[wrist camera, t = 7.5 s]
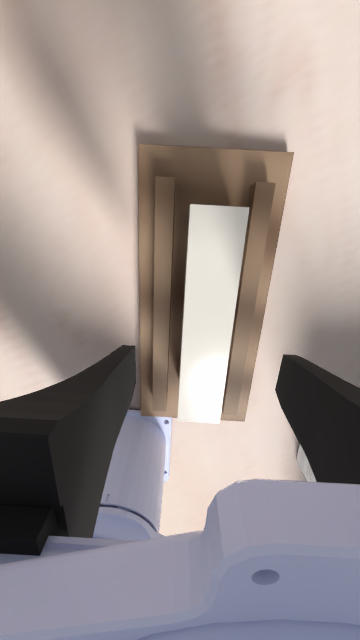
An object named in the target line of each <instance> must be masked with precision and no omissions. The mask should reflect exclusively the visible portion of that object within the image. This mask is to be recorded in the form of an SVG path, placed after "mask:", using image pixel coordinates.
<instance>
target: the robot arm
mask: <svg viewBox="0 0 360 640" xmlns="http://www.w3.org/2000/svg"><path fill="white" fill-rule="evenodd" d="M135 383H136V361H135V346H127V345H122V346H121V347H119V348H118V349H116V350H115V351H113V352H112V353H111V354H109V355H108V356H106V357H105V358H103V359H102V360H100V361H99V362H97V363H96V364H94V365H92V366H91V367H89V368H87V369H86V370H84V371H82V372H80V373H79V374H77V375H75V376H73V377H71V378H68V379H66V380H64V381H62V382H60V383H57V384H55V385H52V386H49V387H47V388H44V389H42V390H39V391H36V392H33V393H30V394H27V395H23V396H20V397H16V398H13V399H9V400H5V401H1V402H0V640H360V388H358V387H356V386H354V385H352V384H350V383H348V382H346V381H344V380H342V379H341V378H339V377H337V376H335V375H333V374H331V373H329V372H328V371H326V370H324V369H322V368H320V367H319V366H317V365H315V364H313V363H311V362H310V361H308V360H306V359H304V358H302V357H299V356H297V355H284V354H283V359H282V363H281V367H280V372H279V376H278V380H277V385H276V389H275V390H276V393H277V397H278V400H279V402H280V405H281V408H282V410H283V412H284V414H285V416H286V418H287V420H288V422H289V424H290V426H291V428H292V429H293V431H294V433H295V435H296V437H297V439H298V441H299V443H300V445H301V447H302V449H303V451H304V453H305V455H306V457H307V459H308V462H309V464H310V467H311V469H312V472H313V474H314V477H315V479H316V482H305V481H288V480H270V479H252V480H245V481H237V482H234V483H233V484H231V485H229V486H227V487H226V488H224V489H222V490H220V491H219V492H218V493H217V494H216V495H215V497H214V499H213V500H212V502H211V504H210V506H209V507H208V510H207V517H206V524H205V528H204V530H201V531H195V532H189V533H183V534H177V535H171V536H164V535H161V534H159V527H160V515H161V504H162V492H163V482H166V481H168V479H169V465H170V445H171V424H172V417H154V416H141V410H128V408H129V406H130V403H131V400H132V396H133V392H134V388H135ZM165 420H168V421H165Z"/></svg>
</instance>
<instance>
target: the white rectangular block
mask: <svg viewBox="0 0 360 640" xmlns="http://www.w3.org/2000/svg"><path fill="white" fill-rule="evenodd" d="M248 214H249V207H233V206H215V205H196V204H190V207H189V217H188V235H187V252H186V269H185V286H184V303H183V320H182V338H181V355H180V372H179V393H178V417H177V421H184V422H202V423H220V417H221V409H222V402H223V395H224V388H225V380H226V373H227V366H228V359H229V352H230V344H231V337H232V330H233V323H234V316H235V308H236V301H237V294H238V287H239V279H240V272H241V265H242V258H243V251H244V243H245V236H246V229H247V222H248Z"/></svg>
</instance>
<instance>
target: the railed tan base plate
mask: <svg viewBox="0 0 360 640" xmlns="http://www.w3.org/2000/svg"><path fill="white" fill-rule="evenodd" d="M293 155H294V152H278V151H259V150H241V149H222V148H204V147H186V146H167V145H149V144H138V174H139V292H140V410H141V416H154V417H172V418H177V417H178V393H179V372H180V355H181V338H182V320H183V303H184V286H185V269H186V252H187V235H188V217H189V207H190V204H196V205H215V206H233V207H249V214H248V222H247V229H246V236H245V243H244V251H243V258H242V265H241V272H240V279H239V287H238V294H237V301H236V308H235V316H234V323H233V330H232V337H231V344H230V352H229V359H228V366H227V373H226V380H225V388H224V395H223V402H222V409H221V417H220V420H227V421H245V416H246V410H247V405H248V399H249V394H250V389H251V383H252V378H253V372H254V367H255V361H256V356H257V351H258V345H259V340H260V334H261V329H262V323H263V318H264V313H265V307H266V302H267V296H268V291H269V286H270V280H271V275H272V269H273V264H274V258H275V253H276V248H277V242H278V237H279V231H280V226H281V220H282V215H283V210H284V204H285V199H286V193H287V188H288V182H289V177H290V172H291V166H292V161H293Z"/></svg>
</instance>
